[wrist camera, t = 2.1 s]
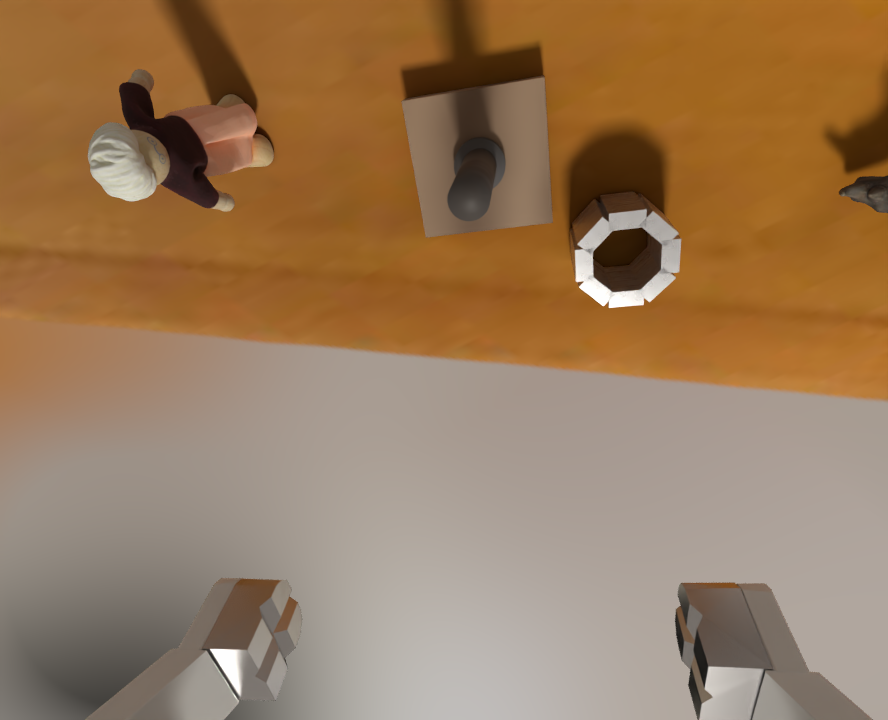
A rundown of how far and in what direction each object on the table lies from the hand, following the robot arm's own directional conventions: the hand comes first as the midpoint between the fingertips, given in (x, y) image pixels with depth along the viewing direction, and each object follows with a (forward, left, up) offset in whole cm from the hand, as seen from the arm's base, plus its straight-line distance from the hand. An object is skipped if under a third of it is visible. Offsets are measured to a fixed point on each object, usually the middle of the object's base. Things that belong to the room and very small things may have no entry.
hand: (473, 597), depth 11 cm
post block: (+1, -4, -28) cm, 28 cm away
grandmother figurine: (+16, -8, -28) cm, 33 cm away
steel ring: (-7, +2, -28) cm, 28 cm away
